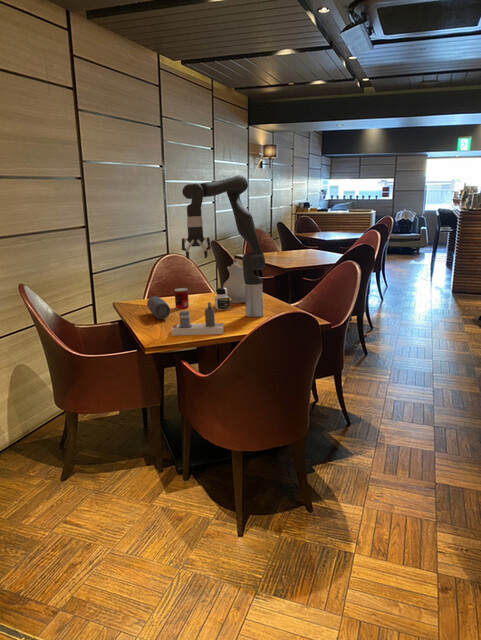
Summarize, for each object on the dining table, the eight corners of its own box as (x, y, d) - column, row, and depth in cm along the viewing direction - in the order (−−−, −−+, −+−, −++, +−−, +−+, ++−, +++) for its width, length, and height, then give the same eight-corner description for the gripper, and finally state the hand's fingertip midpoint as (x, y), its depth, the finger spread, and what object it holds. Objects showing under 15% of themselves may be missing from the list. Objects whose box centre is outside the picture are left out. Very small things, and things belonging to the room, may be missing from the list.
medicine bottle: (217, 310, 273) (216, 289, 270) (215, 308, 280) (214, 287, 277) (230, 309, 275) (229, 288, 272) (227, 306, 281) (226, 286, 278)
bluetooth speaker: (146, 313, 272) (145, 296, 270) (163, 311, 275) (161, 294, 273) (154, 322, 251) (152, 303, 249) (171, 320, 254) (170, 301, 252)
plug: (190, 331, 230) (189, 310, 228) (189, 333, 226) (188, 312, 224) (181, 331, 230) (180, 311, 228) (180, 333, 226) (179, 313, 224)
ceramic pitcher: (218, 301, 304) (214, 262, 297) (246, 295, 311) (242, 257, 304) (232, 307, 284) (228, 265, 278) (262, 301, 292) (258, 260, 285)
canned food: (189, 306, 287) (188, 287, 285) (188, 308, 280) (187, 290, 277) (176, 306, 287) (175, 288, 285) (175, 309, 279) (173, 290, 277)
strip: (223, 329, 232) (222, 300, 228) (223, 333, 223) (221, 304, 220) (174, 330, 232) (172, 302, 229) (171, 335, 224) (169, 306, 220)
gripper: (209, 224, 242) (211, 257, 246) (181, 226, 243) (183, 258, 246) (208, 225, 235) (210, 259, 239) (179, 226, 235) (181, 260, 239)
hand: (196, 258), depth 242 cm, fingers open, 8 cm apart
